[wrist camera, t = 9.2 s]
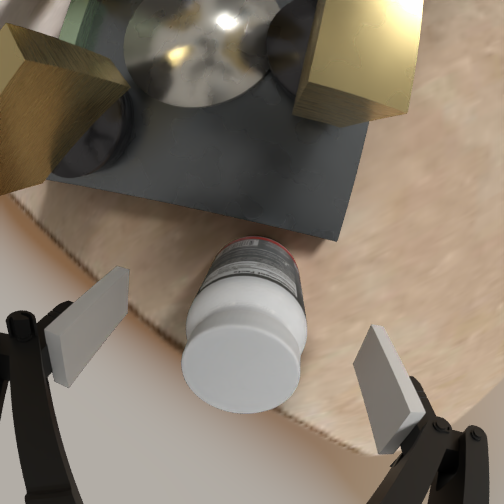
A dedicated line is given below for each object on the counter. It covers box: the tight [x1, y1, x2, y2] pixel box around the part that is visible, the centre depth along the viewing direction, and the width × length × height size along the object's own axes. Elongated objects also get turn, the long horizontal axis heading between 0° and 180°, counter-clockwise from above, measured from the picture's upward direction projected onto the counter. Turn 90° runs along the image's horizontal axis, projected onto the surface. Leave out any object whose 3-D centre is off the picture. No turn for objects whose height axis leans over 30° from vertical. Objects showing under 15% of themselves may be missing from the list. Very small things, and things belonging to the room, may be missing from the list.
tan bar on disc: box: [0, 23, 134, 196], centre depth 11 cm, size 8×6×11 cm
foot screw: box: [266, 0, 423, 128], centre depth 9 cm, size 8×6×10 cm
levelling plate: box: [46, 0, 369, 242], centre depth 15 cm, size 20×20×3 cm
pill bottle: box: [181, 236, 307, 414], centre depth 16 cm, size 6×6×10 cm
